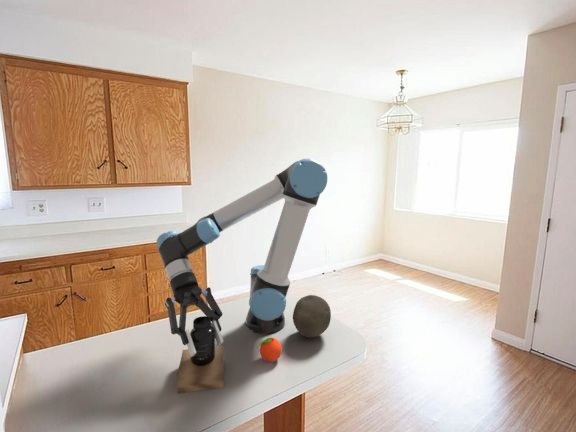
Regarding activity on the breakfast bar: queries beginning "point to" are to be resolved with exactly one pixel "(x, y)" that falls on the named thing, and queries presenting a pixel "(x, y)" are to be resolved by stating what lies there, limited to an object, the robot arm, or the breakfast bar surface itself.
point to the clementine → (270, 349)
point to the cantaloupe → (311, 316)
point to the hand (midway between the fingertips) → (207, 349)
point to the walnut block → (200, 373)
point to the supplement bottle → (203, 341)
